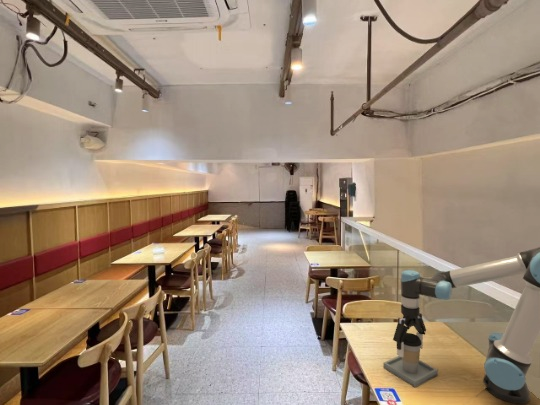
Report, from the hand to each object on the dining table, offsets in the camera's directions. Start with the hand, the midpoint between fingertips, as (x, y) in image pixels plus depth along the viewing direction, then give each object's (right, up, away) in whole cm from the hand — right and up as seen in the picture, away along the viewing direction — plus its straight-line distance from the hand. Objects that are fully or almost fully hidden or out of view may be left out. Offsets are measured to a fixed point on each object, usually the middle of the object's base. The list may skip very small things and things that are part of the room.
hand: (410, 351), depth 134 cm
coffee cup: (0, -8, 0) cm, 8 cm away
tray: (0, -9, 0) cm, 9 cm away
